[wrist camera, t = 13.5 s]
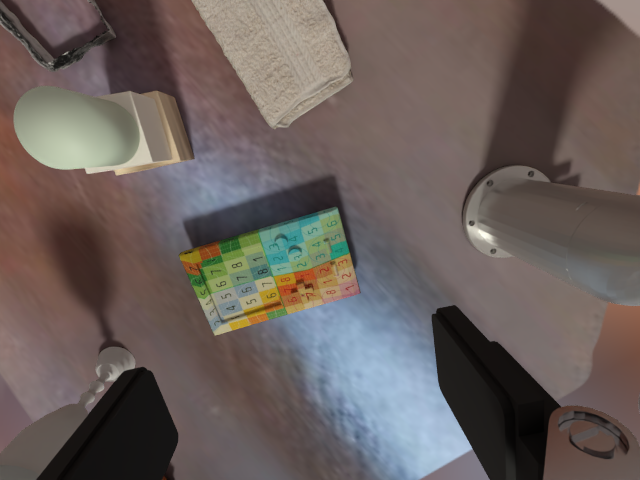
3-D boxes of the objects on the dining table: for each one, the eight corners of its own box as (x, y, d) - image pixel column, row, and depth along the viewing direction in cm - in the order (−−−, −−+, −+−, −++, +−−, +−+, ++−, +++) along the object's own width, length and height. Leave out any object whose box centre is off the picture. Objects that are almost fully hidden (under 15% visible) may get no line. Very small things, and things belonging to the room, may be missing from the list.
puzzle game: (362, 296, 41) (212, 339, 41) (355, 281, 45) (220, 320, 45) (339, 209, 37) (175, 257, 37) (334, 202, 42) (188, 245, 42)
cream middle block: (154, 99, 32) (129, 91, 27) (172, 159, 34) (152, 162, 29) (94, 109, 32) (59, 103, 27) (116, 169, 34) (86, 174, 29)
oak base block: (174, 97, 36) (156, 90, 32) (194, 158, 39) (180, 160, 34) (114, 110, 36) (87, 105, 32) (138, 171, 38) (116, 175, 34)
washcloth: (276, 136, 39) (274, 135, 36) (179, -13, 34) (168, -28, 31) (358, 79, 38) (364, 74, 35) (270, -83, 33) (268, -106, 30)
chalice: (99, 385, 46) (-14, 527, 29) (81, 346, 44) (-52, 474, 27) (149, 376, 47) (66, 511, 29) (134, 336, 45) (34, 457, 27)
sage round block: (127, 94, 27) (80, 79, 21) (148, 159, 29) (109, 162, 23) (63, 105, 27) (-1, 93, 21) (87, 170, 29) (33, 175, 23)
